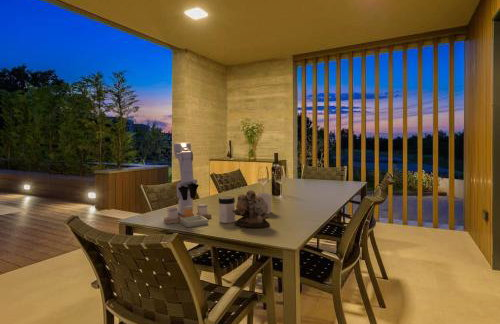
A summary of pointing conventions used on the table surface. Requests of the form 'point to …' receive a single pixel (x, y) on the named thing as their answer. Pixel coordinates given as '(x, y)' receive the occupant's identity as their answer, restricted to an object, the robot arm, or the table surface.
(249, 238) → the table surface
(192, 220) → the tray
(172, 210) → the white fuse
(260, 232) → the table surface
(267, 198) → the mug
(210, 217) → the rack
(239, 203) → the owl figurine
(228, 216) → the jar
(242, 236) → the table surface
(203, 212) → the block
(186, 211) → the block
